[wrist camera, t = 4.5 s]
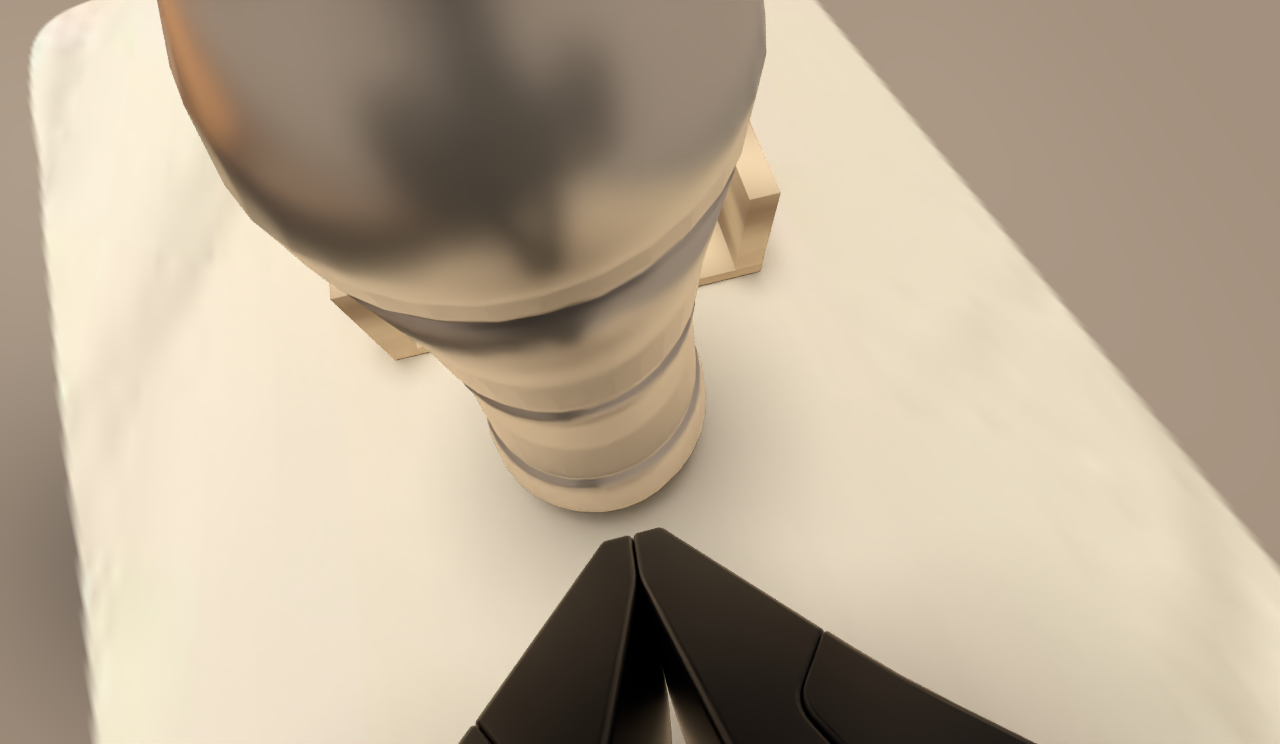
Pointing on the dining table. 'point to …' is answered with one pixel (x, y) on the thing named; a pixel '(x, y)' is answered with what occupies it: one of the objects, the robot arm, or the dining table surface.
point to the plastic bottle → (499, 195)
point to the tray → (726, 257)
